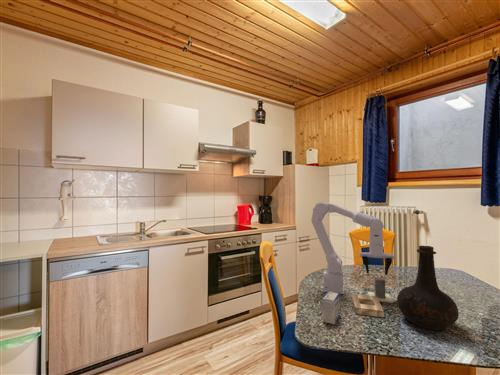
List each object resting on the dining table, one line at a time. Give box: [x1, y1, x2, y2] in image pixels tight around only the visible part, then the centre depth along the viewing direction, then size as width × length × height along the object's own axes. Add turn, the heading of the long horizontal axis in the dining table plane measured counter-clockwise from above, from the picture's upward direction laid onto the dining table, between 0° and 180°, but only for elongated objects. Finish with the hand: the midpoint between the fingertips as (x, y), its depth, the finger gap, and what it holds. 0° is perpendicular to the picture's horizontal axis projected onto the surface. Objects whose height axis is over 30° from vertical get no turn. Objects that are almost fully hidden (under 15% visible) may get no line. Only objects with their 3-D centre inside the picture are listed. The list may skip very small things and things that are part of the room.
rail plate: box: [351, 293, 385, 318], centre depth 102 cm, size 10×14×2 cm
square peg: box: [373, 276, 386, 299], centre depth 112 cm, size 4×4×8 cm
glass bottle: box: [396, 245, 460, 331], centre depth 90 cm, size 18×18×28 cm
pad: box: [367, 291, 394, 304], centre depth 112 cm, size 9×9×1 cm
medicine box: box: [321, 292, 340, 325], centre depth 93 cm, size 8×4×9 cm, turn 148°
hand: (376, 273), depth 114 cm, fingers open, 7 cm apart
